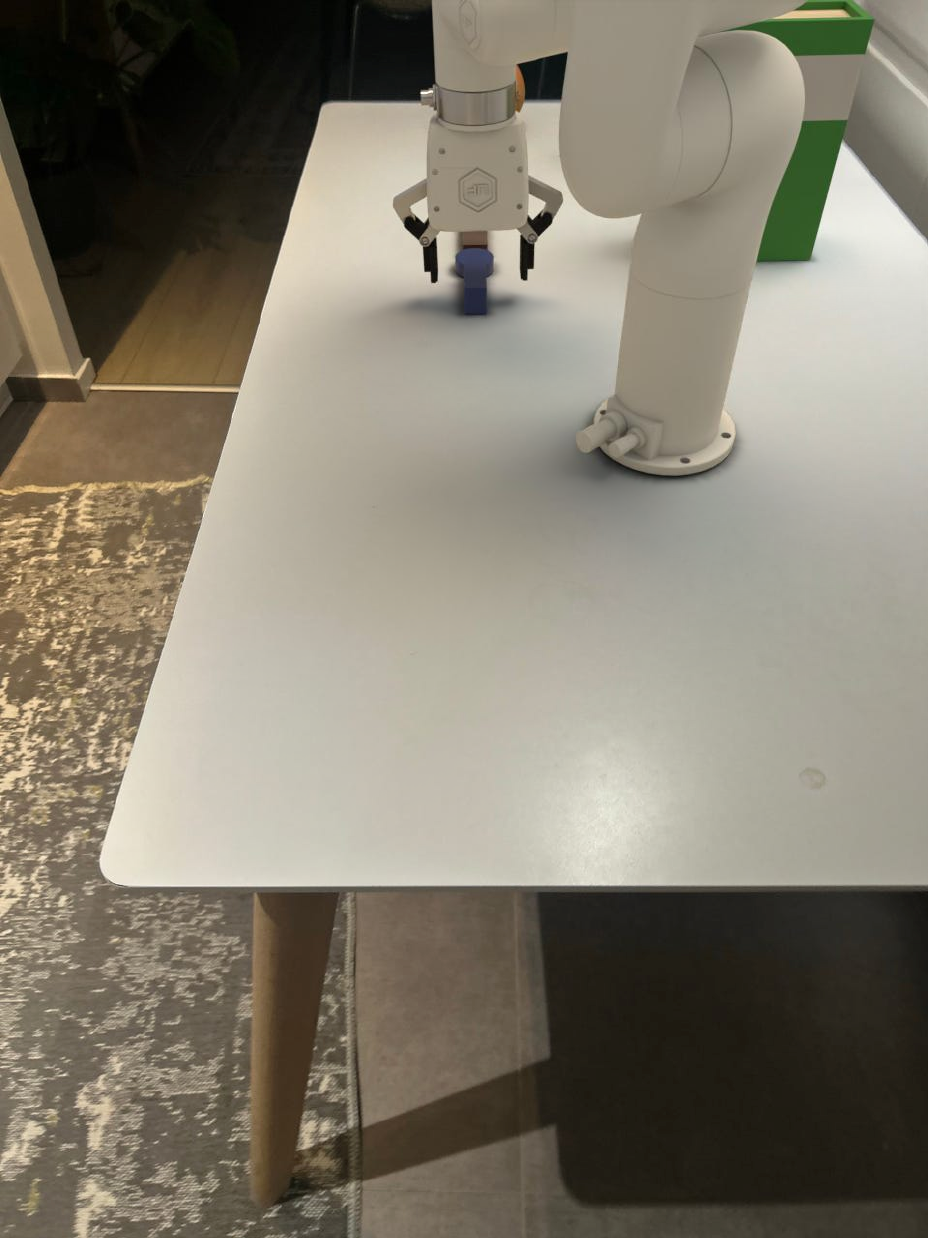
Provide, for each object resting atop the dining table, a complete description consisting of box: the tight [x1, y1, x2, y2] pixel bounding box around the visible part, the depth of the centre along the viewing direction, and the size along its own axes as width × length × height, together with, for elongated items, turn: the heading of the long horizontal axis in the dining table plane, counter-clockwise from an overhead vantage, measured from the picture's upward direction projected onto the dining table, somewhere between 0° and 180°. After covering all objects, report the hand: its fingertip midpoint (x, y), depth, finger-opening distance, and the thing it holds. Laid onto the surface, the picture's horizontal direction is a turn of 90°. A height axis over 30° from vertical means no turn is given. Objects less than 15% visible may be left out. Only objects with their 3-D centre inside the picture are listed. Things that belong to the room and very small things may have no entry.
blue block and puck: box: [454, 248, 495, 315], centre depth 102 cm, size 12×4×3 cm, turn 0°
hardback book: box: [700, 0, 876, 262], centre depth 100 cm, size 18×7×24 cm, turn 91°
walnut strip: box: [461, 231, 489, 251], centre depth 114 cm, size 18×3×2 cm, turn 0°
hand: (479, 276), depth 99 cm, fingers open, 9 cm apart
